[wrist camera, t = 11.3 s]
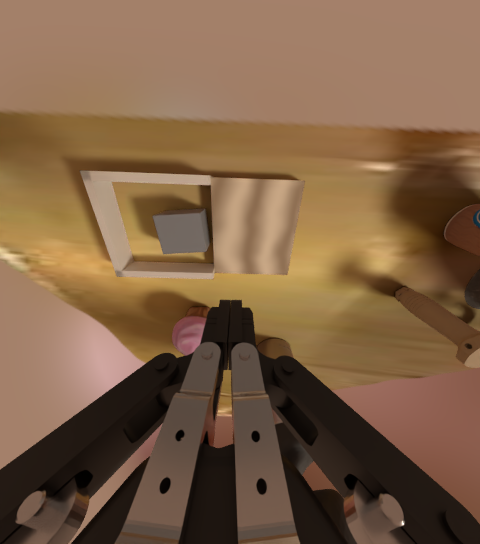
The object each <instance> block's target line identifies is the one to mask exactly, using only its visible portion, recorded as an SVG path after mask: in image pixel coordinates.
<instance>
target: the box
mask: <svg viewBox="0 0 480 544" xmlns="http://www.w3.org/2000/svg"><path fill="white" fill-rule="evenodd" d="M80 173H81V176H82V179H83V182H84V184H85V187H86V190H87V193H88V196H89V199H90V202H91V204H92V207H93V210H94V213H95V216H96V219H97V221H98V224H99V227H100V230H101V233H102V236H103V238H104V241H105V244H106V247H107V250H108V253H109V255H110V258H111V261H112V264H113V267H114V270H115V272H116V275H117V277H154V278H191V279H213V277H214V274H215V273H214V264H212V263H177V262H142V261H134V260H133V256H132V252H131V249H130V245H129V242H128V238H127V235H126V231H125V228H124V224H123V221H122V217H121V214H120V210H119V207H118V203H117V200H116V196H115V193H114V189H113V186H112V182H135V183H162V184H189V185H211V180H210V177H212V176H209V175H186V174H160V173H134V172H107V171H81V170H80Z"/></svg>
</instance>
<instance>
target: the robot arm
mask: <svg viewBox="0 0 480 544" xmlns="http://www.w3.org/2000/svg"><path fill="white" fill-rule="evenodd" d="M228 360H229V370H231V393H232V428H233V429H232V430H233V444H231V445H228V446H225V447H222V448H215V447H213V445H214V436H215V424H216V418H217V412H218V405H219V399H220V393H221V387H222V381H223V371H224V370H227V369H228ZM162 423H163V424H162ZM161 424H162V427H161V430H160V432H159V435H158V437H157V440H156V443H155V445H154V448H153V451H152V453H151V456H150V457H148V458H147V459H146V460H144V461H143V462H142V463H141V464H140V465H139V466H138V467H137V468H136V469H135V470H134V471H133V472H132V474H131V475H130V476H129V477H128V478H127V479H126V480H125V481H124V483H123V484H122V485H121V486H120V488H119V489H118V490H117V491H116V492H115V493H114V494H113V495H112V497H111V498H110V499H109V500H108V501H107V502H106V504H105V505H104V506H103V507H102V508H101V509H100V511H99V512H98V513H97V514H96V515H95V516H94V518H93V519H92V520H91V521H90V522H89V523H88V525H87V526H86V527H85V528H84V529H83V530H82V532H81V533H80V534H79V535H78V536H77V537H76V538H75V540H74V541H73V542H72V543H71V544H480V524H479V523H478V522H477V520H476V519H475V518H474V517H473V516H472V514H471V513H470V512H469V511H468V510H467V509H466V508H465V507H464V506H463V505H461V504H460V503H459V502H458V501H457V500H456V499H455V498H454V497H453V496H451V495H450V494H449V493H448V492H447V491H445V490H444V489H443V488H442V487H441V486H440V485H439V484H438V483H437V482H435V481H434V480H433V479H432V478H431V477H429V476H428V475H427V474H426V473H425V472H424V471H423V470H422V469H420V468H419V467H418V466H417V465H416V464H415V463H413V462H412V461H411V460H410V459H409V458H408V457H407V456H406V455H404V454H403V453H402V452H401V451H400V450H398V448H396V447H395V446H394V445H393V444H392V443H391V442H389V441H388V440H387V439H386V438H385V437H384V436H383V435H382V434H380V433H379V432H378V431H377V430H376V429H375V428H373V427H372V426H371V425H370V424H369V423H368V422H366V420H364V419H363V418H362V417H361V416H360V415H359V414H358V413H356V412H355V411H354V410H353V409H352V408H351V407H350V406H348V405H347V404H346V403H345V402H344V401H343V400H341V399H340V398H339V397H338V396H337V395H336V394H335V393H333V392H332V391H331V390H330V389H329V388H328V387H327V386H325V385H324V384H323V383H322V382H321V381H320V380H319V379H317V378H316V377H315V376H314V375H313V374H312V373H311V372H309V371H308V370H307V369H306V368H305V367H304V366H303V365H301V364H300V363H299V362H298V361H297V360H296V359H294V358H293V354H292V351H291V348H290V345H289V344H288V343H287V342H286V341H284V340H282V339H268V340H265V341H263V342H261V343H260V344H259V345H258V347H256V343H255V332H254V322H253V313H252V311H251V310H250V308H242V300H220V304H219V307H212V308H211V309H210V310H209V311H208V314H207V319H206V322H205V326H204V330H203V334H202V338H201V342H200V345H199V346H198V347H197V348H196V349H195V351H194V352H193V353H191V354H189V355H186V356H183V357H179V358H176V357H175V355H173V354H171V353H163V354H160V355H158V356H156V357H154V358H153V359H152V360H150V361H149V362H147V363H146V364H145V365H143V366H142V367H141V368H140V369H138V370H136V371H135V372H134V373H132V374H131V375H130V376H128V377H127V378H125V379H124V380H123V381H121V382H120V383H119V384H117V385H116V386H115V387H113V388H112V389H110V390H109V391H108V392H106V393H105V394H104V395H102V396H101V397H99V398H98V399H97V400H95V401H94V402H93V403H91V404H90V405H88V406H87V407H86V408H84V409H83V410H82V411H80V412H79V413H78V414H76V415H75V416H73V417H72V418H71V419H69V420H68V421H66V422H65V423H64V424H62V425H61V426H60V427H58V428H57V429H55V430H54V431H53V432H51V433H50V434H49V435H47V436H46V437H44V438H43V439H42V440H40V441H39V442H38V443H36V444H35V445H33V446H32V447H31V448H29V449H28V450H27V451H25V452H24V453H23V454H21V455H20V456H18V457H17V458H16V459H14V460H13V461H12V462H10V463H9V464H7V465H6V466H5V467H3V468H2V469H1V470H0V544H68V543H69V541H70V540H71V539H72V538H73V536H74V535H75V534H76V532H77V531H78V529H79V528H80V526H81V524H82V522H83V520H84V518H85V515H86V512H87V509H88V505H89V499H90V498H91V497H92V496H93V495H94V494H95V493H96V492H97V491H98V490H99V489H100V487H102V486H103V484H104V483H105V482H106V481H107V480H108V479H109V478H110V477H111V476H112V475H113V474H114V473H115V472H116V471H117V470H118V469H119V468H120V467H121V466H122V465H123V464H124V463H125V461H127V460H128V458H129V457H130V456H131V455H132V454H133V453H134V452H135V451H136V450H137V449H138V448H139V447H140V446H141V445H142V444H143V443H144V442H145V440H147V439H148V438H149V436H150V435H152V433H153V432H154V431H155V430H156V429H157V428H158V427H159V426H160V425H161ZM313 461H314V462H315V463H316V464H317V465H318V467H319V468H320V469H321V470H322V472H323V473H324V474H325V475H326V477H327V478H328V479H329V480H330V481H331V483H332V484H333V485H334V487H335V488H336V489H337V490H338V491H339V493H340V494H341V495H342V496H341V495H340V494H339V493H338V492H337V491H335V490H332V489H324V490H316V491H313V490H312V489H311V487H310V486H309V485H308V483H307V482H306V480H305V479H304V477H303V476H302V475H303V473H304V471H305V470H306V468H307V467H308V466H309V465H310V464H311V463H312V462H313ZM343 498H344V499H343Z"/></svg>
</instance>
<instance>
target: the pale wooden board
mask: <svg viewBox="0 0 480 544" xmlns="http://www.w3.org/2000/svg"><path fill="white" fill-rule="evenodd" d="M210 180H211V203H212V227H213V251H214V273H238V274H275V275H287V274H288V269H289V263H290V258H291V253H292V247H293V242H294V237H295V231H296V226H297V221H298V215H299V210H300V205H301V199H302V194H303V189H304V183H305V181H298V180H272V179H245V178H219V177H210Z"/></svg>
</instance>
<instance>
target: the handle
mask: <svg viewBox="0 0 480 544" xmlns="http://www.w3.org/2000/svg"><path fill="white" fill-rule="evenodd" d="M395 293H396V295H395V298H396V299H397V300H398V301H400V302H401V303H402V305H403V306H404V307H405V308H407V309H408V310H409V311H410V312H411V313H412V314H414V315H415V316H416V317H418V318H419V319H421V320H422V321H423V322H425V323H426V324H428V325H429V326H431V327H432V328H434V329H435V330H437V331H438V332H440V333H441V334H442V335H444V336H445V337H447V338H448V339H449V340H451V341H452V342H453V343H455V344H456V345H457V346H458V351H457V354H456V358H457V359H458V360H459V361H461V362H462V363H463V364H464V365H465V366H467V367H471V368H478V367H480V332H479V331H477V330H475V329H474V328H472V327H471V326H469V325H468V324H466V323H465V322H463V321H462V320H461V319H459V318H458V317H456V316H455V315H453V314H452V313H451V312H449V311H448V310H446V309H445V308H443V307H442V306H441V305H439V304H438V303H436V302H435V301H433V300H431V299H430V298H428V297H426V296H424V295H422V294H420V293H418V292H416V291H414V290H412V289H410V288H406V287H402V288H401V289H400V290H397V291H396V292H395Z"/></svg>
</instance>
